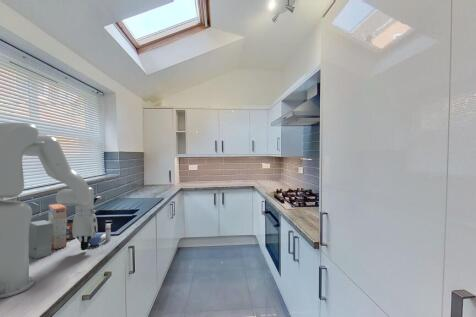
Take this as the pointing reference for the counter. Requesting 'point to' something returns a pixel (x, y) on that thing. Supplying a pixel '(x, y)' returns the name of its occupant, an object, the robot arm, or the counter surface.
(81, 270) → the counter surface
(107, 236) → the grey pin
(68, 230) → the supplement bottle
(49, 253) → the skincare box
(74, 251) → the counter surface
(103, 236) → the cream pin
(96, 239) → the ball
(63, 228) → the cracker box
